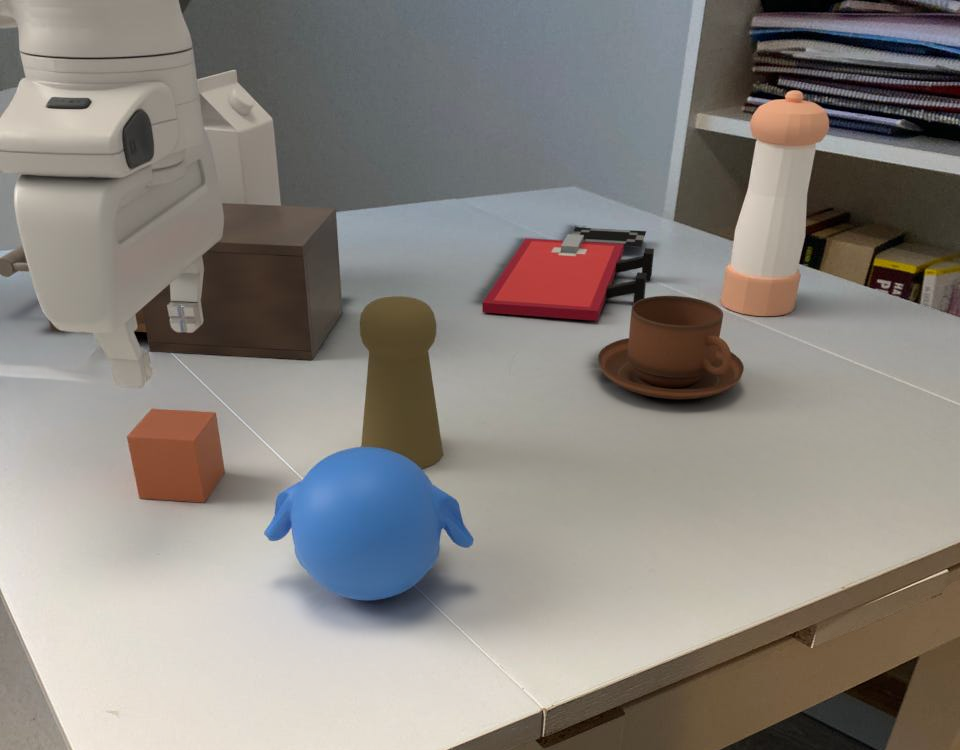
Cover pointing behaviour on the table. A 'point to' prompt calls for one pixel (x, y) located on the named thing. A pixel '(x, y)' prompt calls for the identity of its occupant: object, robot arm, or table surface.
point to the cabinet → (261, 287)
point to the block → (176, 455)
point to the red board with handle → (569, 275)
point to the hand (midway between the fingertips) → (163, 354)
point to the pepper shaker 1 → (400, 379)
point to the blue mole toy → (367, 523)
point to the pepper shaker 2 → (774, 208)
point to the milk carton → (239, 141)
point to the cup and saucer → (672, 350)
